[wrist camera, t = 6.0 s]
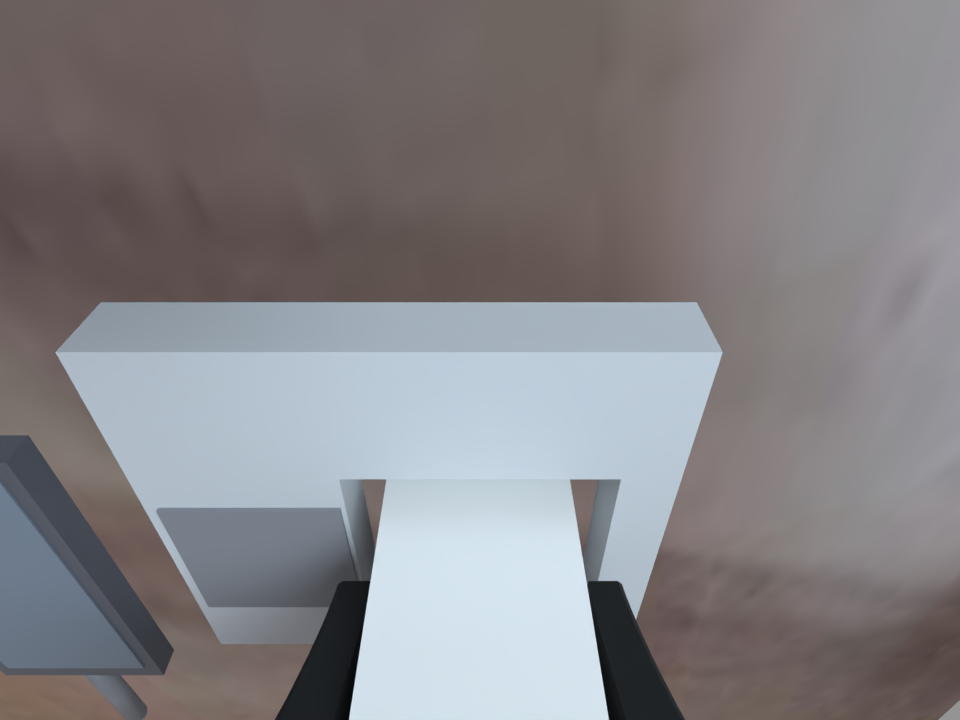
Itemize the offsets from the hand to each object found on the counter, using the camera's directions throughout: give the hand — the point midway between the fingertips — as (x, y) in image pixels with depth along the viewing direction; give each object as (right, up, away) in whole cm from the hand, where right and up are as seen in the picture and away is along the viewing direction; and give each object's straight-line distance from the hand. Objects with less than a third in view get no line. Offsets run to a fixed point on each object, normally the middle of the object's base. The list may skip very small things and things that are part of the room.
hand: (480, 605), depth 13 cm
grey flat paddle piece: (-12, -2, +5) cm, 14 cm away
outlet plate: (-2, +2, +1) cm, 3 cm away
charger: (0, +2, +2) cm, 3 cm away
